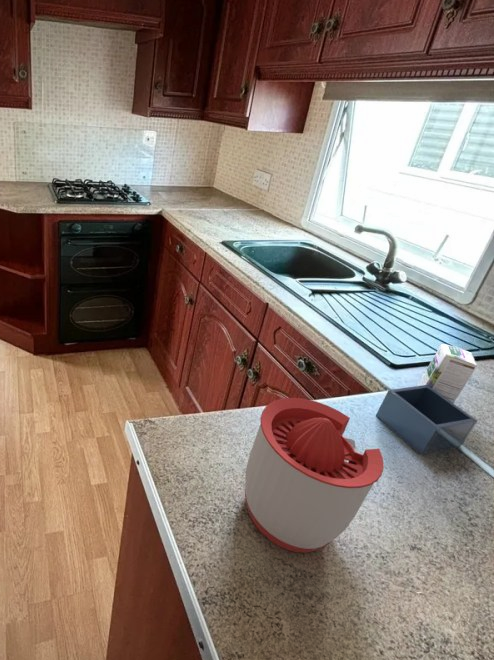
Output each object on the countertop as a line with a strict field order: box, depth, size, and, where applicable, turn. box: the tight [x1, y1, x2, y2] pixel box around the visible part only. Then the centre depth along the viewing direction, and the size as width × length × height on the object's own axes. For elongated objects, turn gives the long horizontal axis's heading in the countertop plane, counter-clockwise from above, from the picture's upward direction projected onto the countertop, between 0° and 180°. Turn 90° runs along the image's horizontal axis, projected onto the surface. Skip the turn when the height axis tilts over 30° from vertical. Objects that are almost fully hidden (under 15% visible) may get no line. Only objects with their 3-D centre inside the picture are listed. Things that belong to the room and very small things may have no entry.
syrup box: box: [416, 343, 478, 404], centre depth 87 cm, size 6×6×14 cm
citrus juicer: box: [244, 397, 385, 554], centre depth 58 cm, size 16×17×20 cm
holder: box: [375, 385, 478, 456], centre depth 81 cm, size 11×11×7 cm
